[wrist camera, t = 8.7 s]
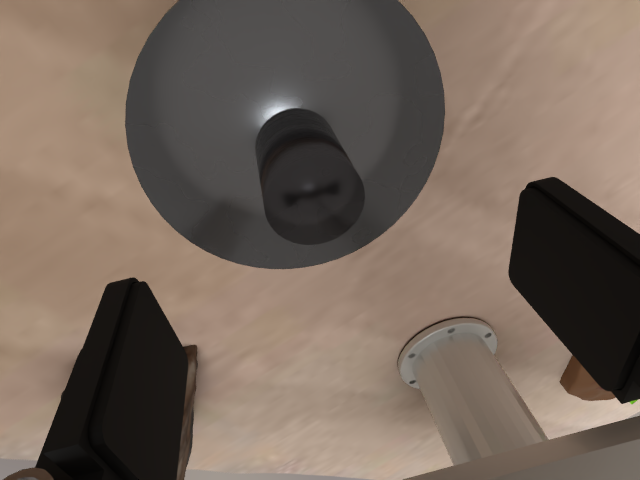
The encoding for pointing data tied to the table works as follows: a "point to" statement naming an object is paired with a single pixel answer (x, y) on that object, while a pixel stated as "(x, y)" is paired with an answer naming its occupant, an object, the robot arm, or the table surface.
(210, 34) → the lid
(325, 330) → the table surface
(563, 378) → the plant
